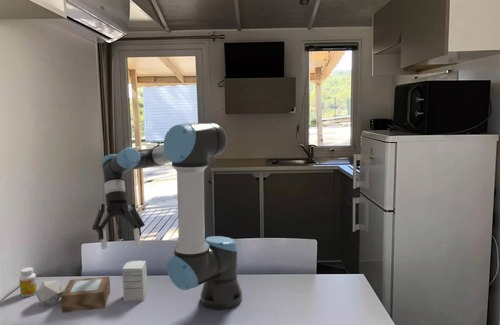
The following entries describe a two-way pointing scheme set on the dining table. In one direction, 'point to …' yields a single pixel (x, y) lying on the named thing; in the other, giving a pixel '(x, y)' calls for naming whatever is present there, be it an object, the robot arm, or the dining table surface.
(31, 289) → the supplement bottle
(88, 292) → the walnut plinth
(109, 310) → the dining table surface
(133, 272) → the supplement box
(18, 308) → the dining table surface
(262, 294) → the dining table surface
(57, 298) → the die
